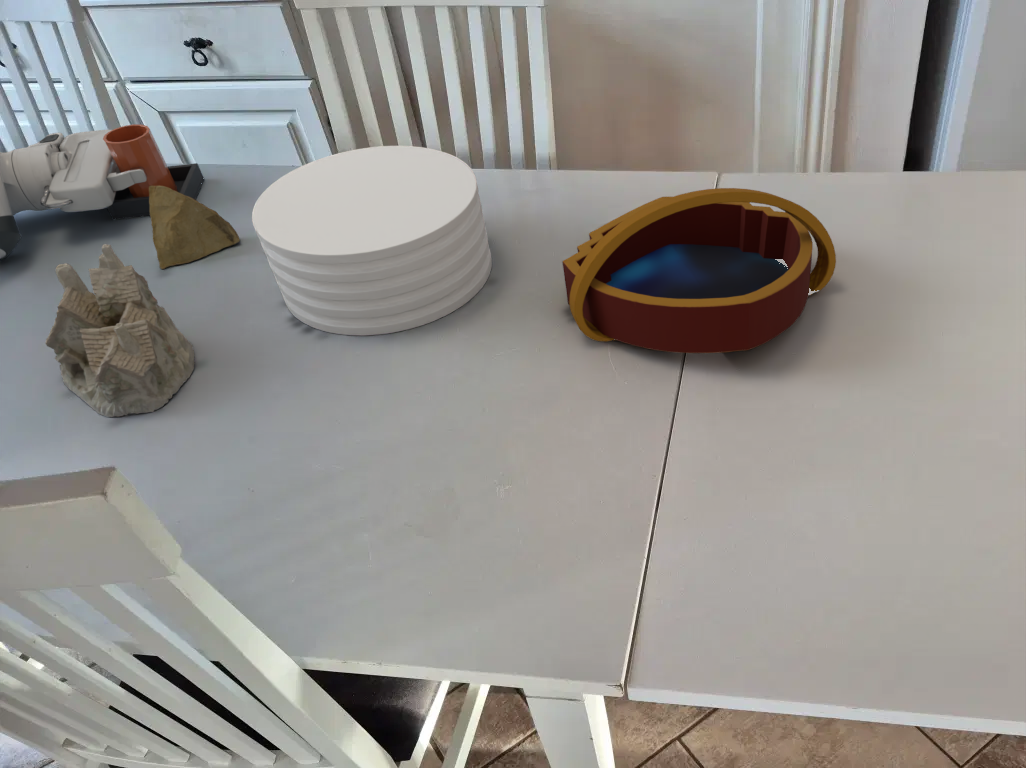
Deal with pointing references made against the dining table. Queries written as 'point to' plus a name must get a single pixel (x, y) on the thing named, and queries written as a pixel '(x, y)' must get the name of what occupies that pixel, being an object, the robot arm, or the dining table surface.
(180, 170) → the tray
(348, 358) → the dining table surface
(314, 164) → the plate stack
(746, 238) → the decorative basket
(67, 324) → the ceramic cottage
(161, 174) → the cup
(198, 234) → the rock
